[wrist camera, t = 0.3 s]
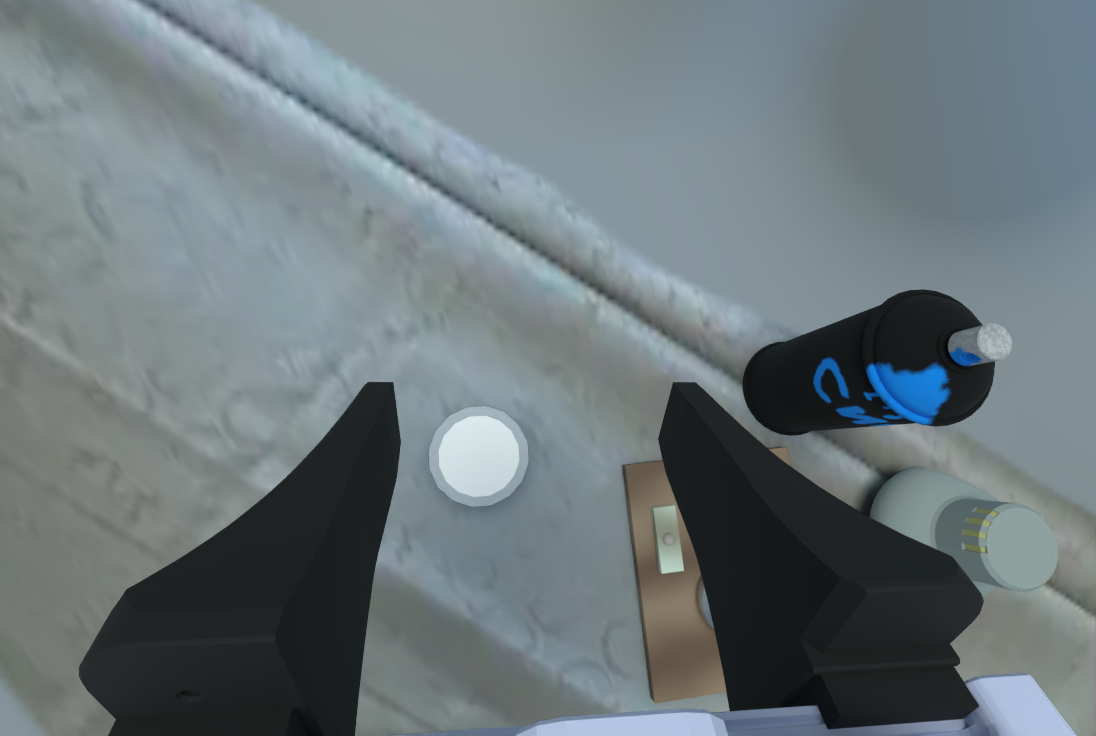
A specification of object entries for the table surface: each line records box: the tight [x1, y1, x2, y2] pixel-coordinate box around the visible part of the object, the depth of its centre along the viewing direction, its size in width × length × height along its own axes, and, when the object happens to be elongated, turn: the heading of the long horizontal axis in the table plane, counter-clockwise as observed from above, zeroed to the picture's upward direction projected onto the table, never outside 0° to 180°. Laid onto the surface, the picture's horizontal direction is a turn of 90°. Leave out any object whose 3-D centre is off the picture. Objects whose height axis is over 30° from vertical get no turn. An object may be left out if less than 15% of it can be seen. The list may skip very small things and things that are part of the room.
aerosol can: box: [743, 290, 1012, 435], centre depth 37 cm, size 8×8×20 cm
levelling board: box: [622, 447, 790, 703], centre depth 43 cm, size 18×14×2 cm
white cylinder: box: [429, 406, 529, 507], centre depth 40 cm, size 7×7×7 cm
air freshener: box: [870, 466, 1058, 597], centre depth 42 cm, size 11×8×10 cm
